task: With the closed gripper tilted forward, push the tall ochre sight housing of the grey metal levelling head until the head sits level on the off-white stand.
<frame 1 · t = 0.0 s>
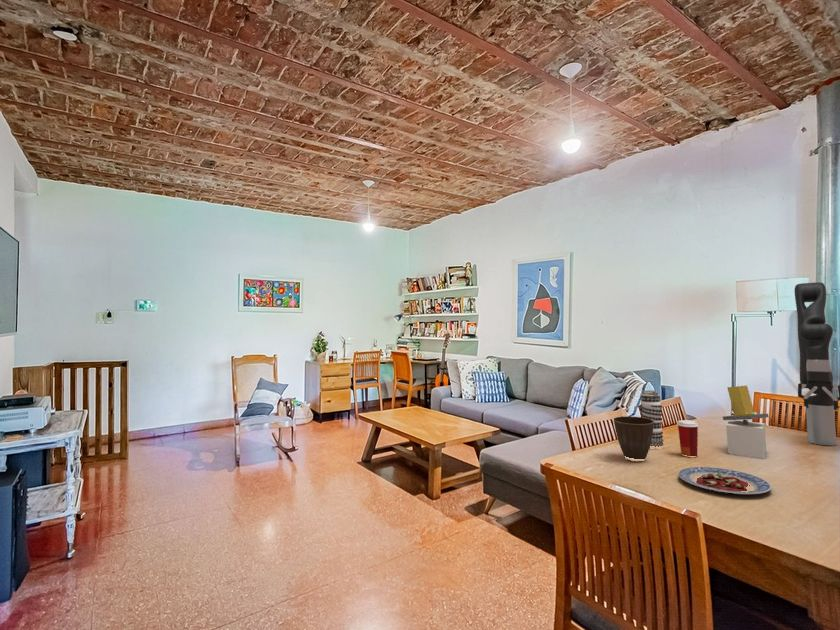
hand: (821, 409, 182), 17 cm above the table, tool pointing down, fingers open, 8 cm apart
plant pot: (635, 459, 176), on the table
stand: (747, 452, 180), on the table
grey striped cylinder: (652, 447, 193), on the table
ceramic plate: (722, 486, 145), on the table
paper cup: (689, 456, 179), on the table
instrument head: (741, 402, 182), point 21 cm above the table, hinge at -12.0°
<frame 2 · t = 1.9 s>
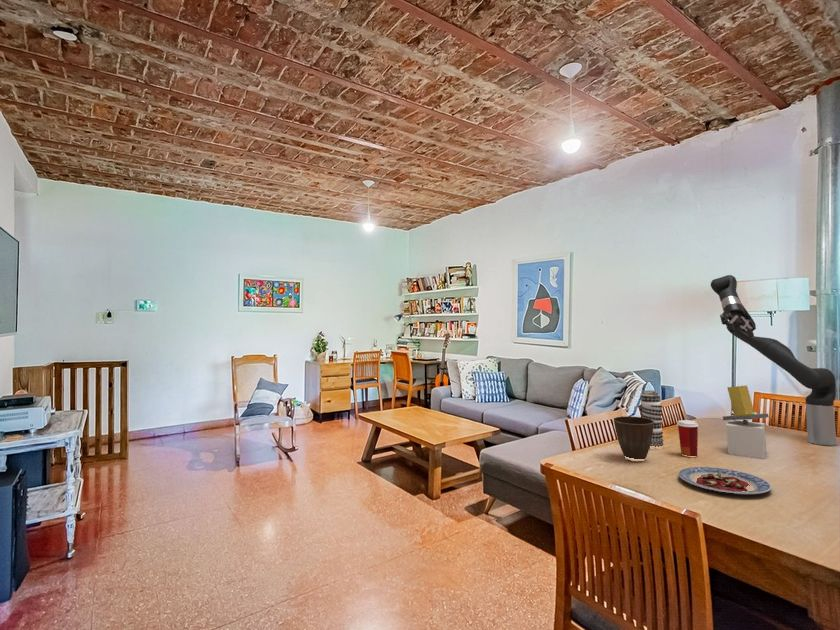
hand: (741, 334, 193), 50 cm above the table, tool tilted 40°, fingers open, 8 cm apart
nothing on the table moved.
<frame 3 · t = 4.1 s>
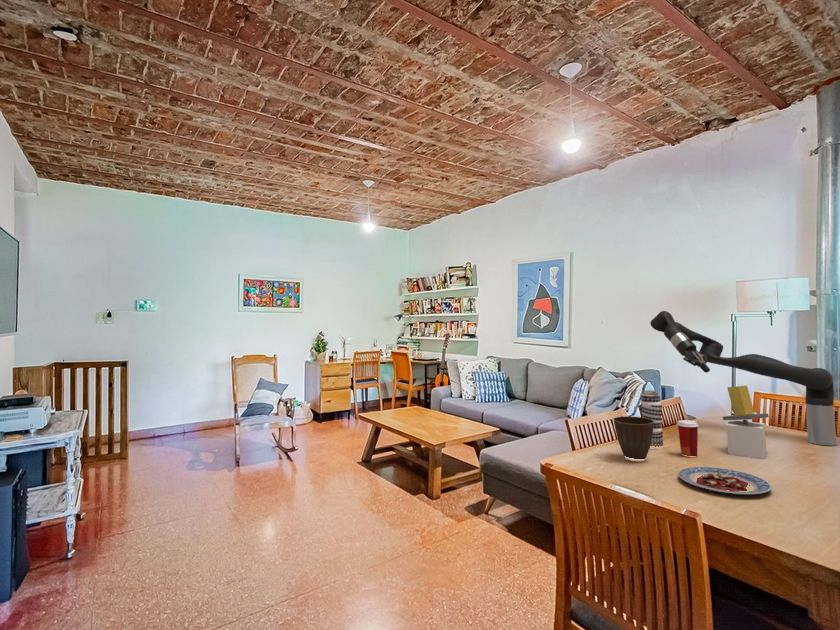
hand: (707, 371, 196), 33 cm above the table, tool tilted 45°, fingers closed
nothing on the table moved.
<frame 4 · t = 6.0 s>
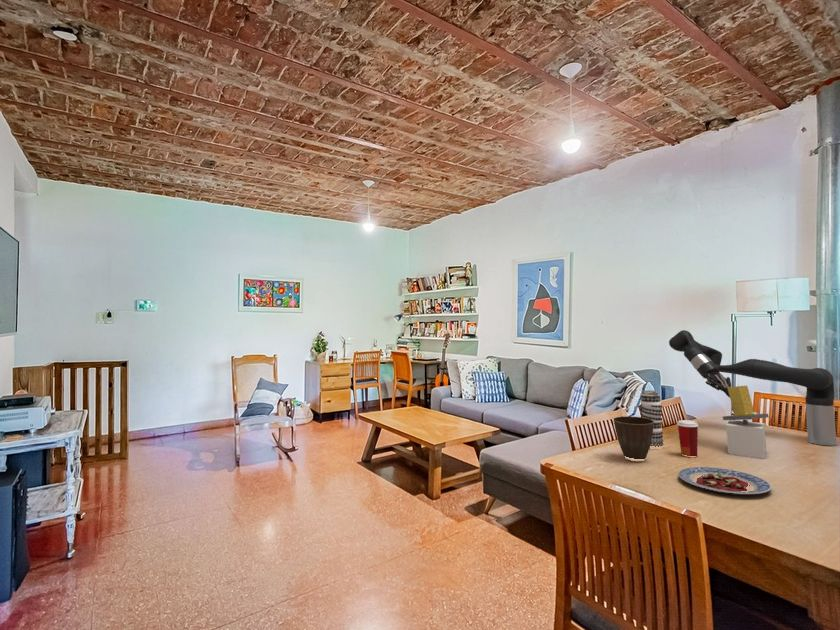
hand: (732, 396, 186), 23 cm above the table, tool tilted 45°, fingers closed
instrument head: (741, 402, 182), point 21 cm above the table, hinge at -11.8°, touching gripper
everything else where it was.
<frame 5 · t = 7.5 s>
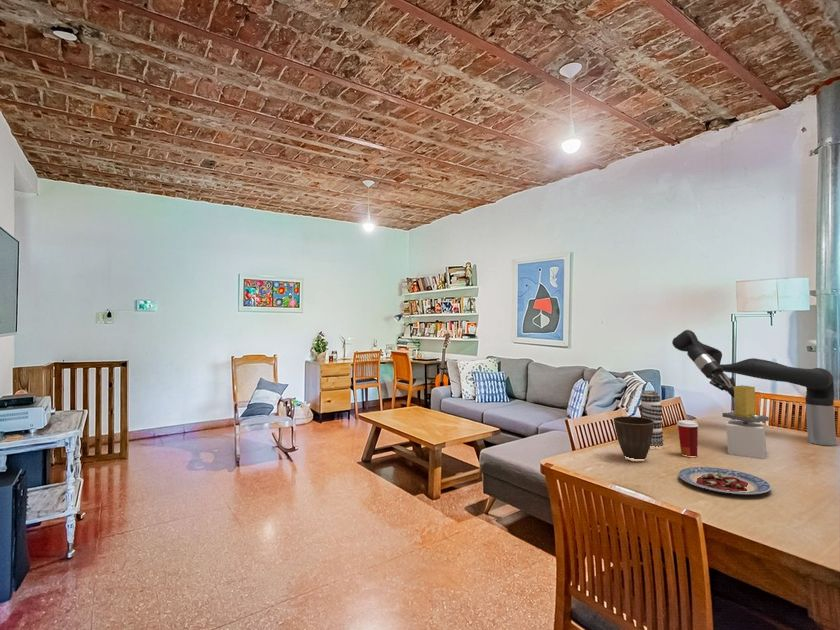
hand: (736, 396, 184), 23 cm above the table, tool tilted 45°, fingers closed
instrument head: (744, 402, 181), point 21 cm above the table, hinge at 1.7°
everything else where it was.
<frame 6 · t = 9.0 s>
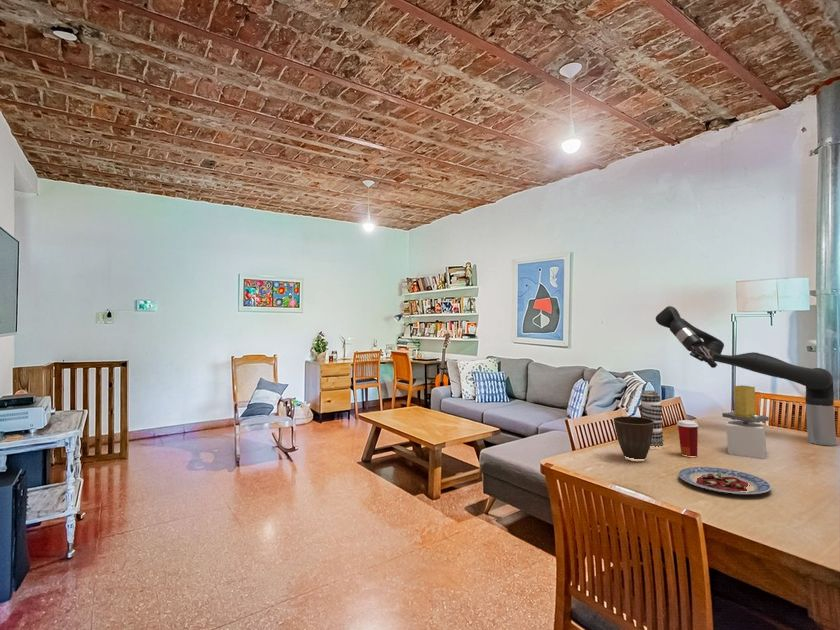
hand: (714, 366, 193), 35 cm above the table, tool tilted 45°, fingers closed
nothing on the table moved.
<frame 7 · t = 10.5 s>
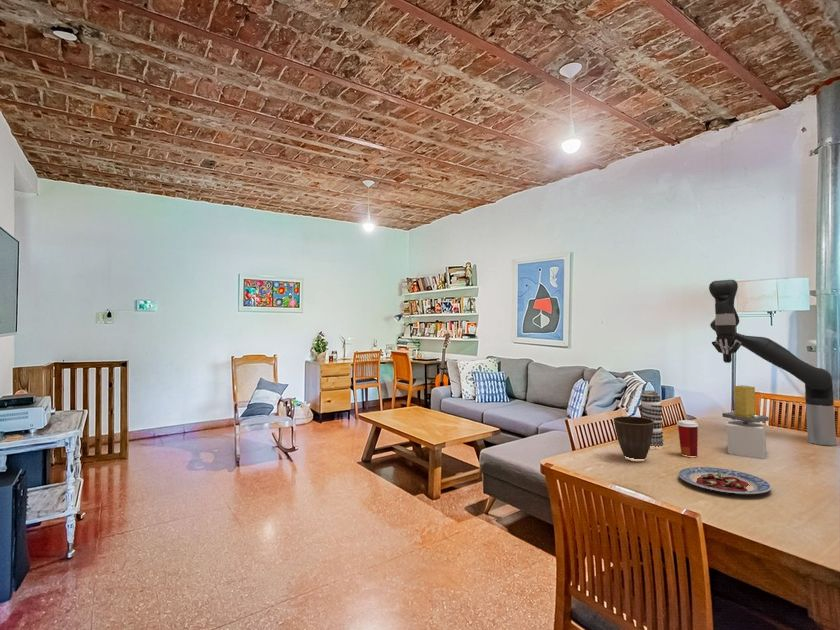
hand: (727, 362, 193), 37 cm above the table, tool pointing down, fingers closed
nothing on the table moved.
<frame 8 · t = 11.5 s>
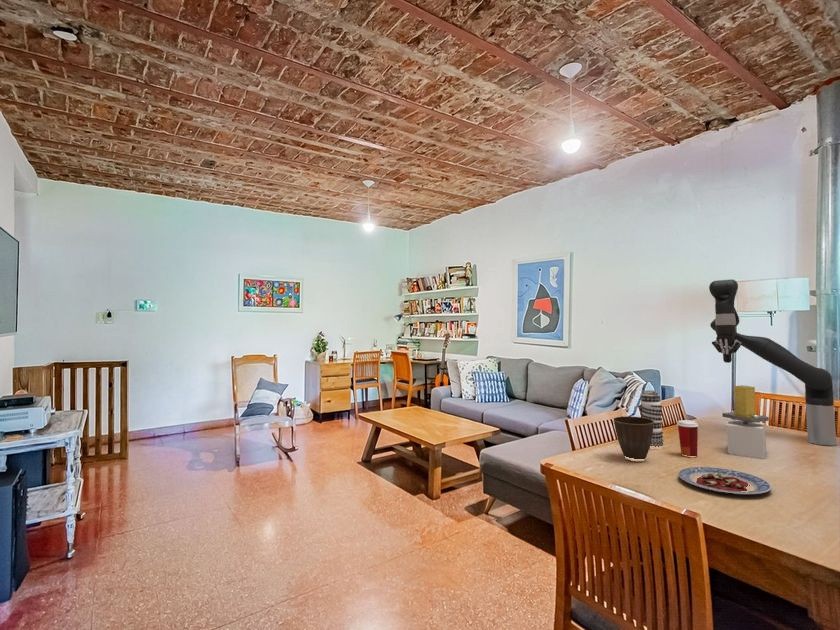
hand: (727, 362, 193), 37 cm above the table, tool pointing down, fingers closed
nothing on the table moved.
at the end: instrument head at +2° (first picture: -12°) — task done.
